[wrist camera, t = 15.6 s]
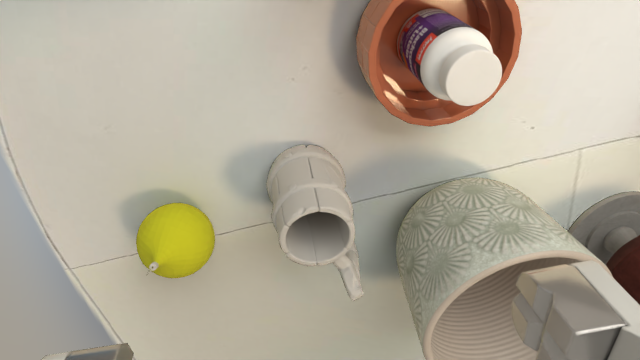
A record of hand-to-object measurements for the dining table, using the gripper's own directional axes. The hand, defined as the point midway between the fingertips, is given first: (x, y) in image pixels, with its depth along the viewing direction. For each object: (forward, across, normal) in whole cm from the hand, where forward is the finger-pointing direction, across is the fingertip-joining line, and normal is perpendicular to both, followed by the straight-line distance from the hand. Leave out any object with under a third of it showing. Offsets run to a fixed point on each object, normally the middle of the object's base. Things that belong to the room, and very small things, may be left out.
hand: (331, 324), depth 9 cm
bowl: (+31, -13, +4) cm, 34 cm away
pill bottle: (+31, -13, +4) cm, 34 cm away
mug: (+31, -2, +18) cm, 36 cm away
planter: (+31, -17, +25) cm, 43 cm away
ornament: (+31, +12, +19) cm, 38 cm away
